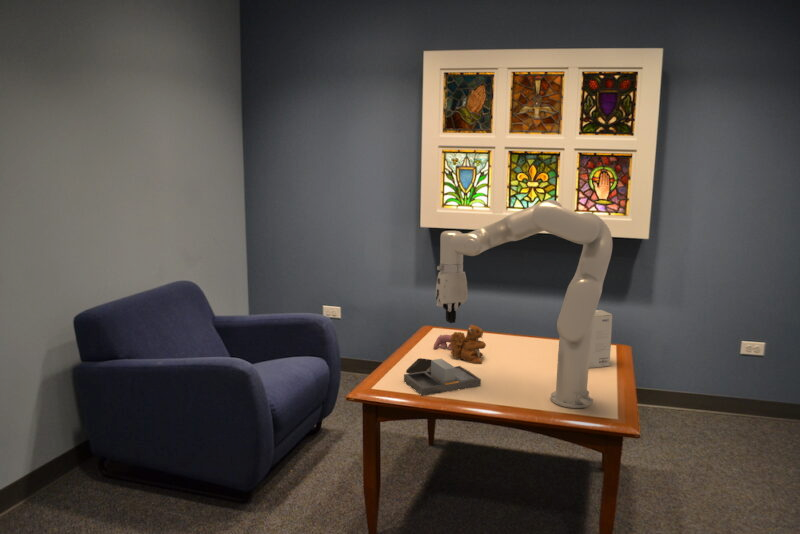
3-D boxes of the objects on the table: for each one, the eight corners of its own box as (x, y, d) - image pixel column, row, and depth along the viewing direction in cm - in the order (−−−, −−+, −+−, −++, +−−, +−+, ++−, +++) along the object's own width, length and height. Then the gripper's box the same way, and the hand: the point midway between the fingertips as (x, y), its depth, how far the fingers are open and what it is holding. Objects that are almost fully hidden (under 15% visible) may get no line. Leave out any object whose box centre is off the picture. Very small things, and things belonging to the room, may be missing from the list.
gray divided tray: (480, 386, 209) (480, 378, 208) (422, 395, 200) (422, 387, 199) (459, 372, 221) (459, 365, 221) (403, 381, 212) (404, 373, 212)
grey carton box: (598, 360, 237) (602, 309, 233) (610, 366, 230) (614, 314, 226) (562, 363, 233) (565, 311, 229) (572, 370, 226) (576, 317, 222)
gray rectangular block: (455, 384, 207) (455, 367, 206) (444, 386, 205) (445, 369, 204) (441, 375, 216) (441, 358, 215) (430, 376, 214) (431, 360, 213)
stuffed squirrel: (483, 364, 230) (484, 330, 228) (446, 360, 234) (446, 327, 232) (487, 356, 240) (488, 323, 237) (451, 352, 244) (452, 320, 241)
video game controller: (458, 355, 246) (462, 337, 247) (454, 352, 242) (458, 335, 243) (436, 350, 251) (440, 333, 252) (431, 348, 247) (435, 331, 248)
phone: (438, 360, 232) (426, 373, 218) (438, 363, 232) (426, 376, 218) (418, 357, 234) (405, 370, 221) (418, 360, 235) (405, 373, 221)
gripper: (437, 272, 198) (436, 327, 202) (476, 268, 205) (475, 322, 208) (426, 268, 205) (425, 321, 208) (464, 264, 211) (463, 316, 215)
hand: (450, 321), depth 208 cm, fingers closed
